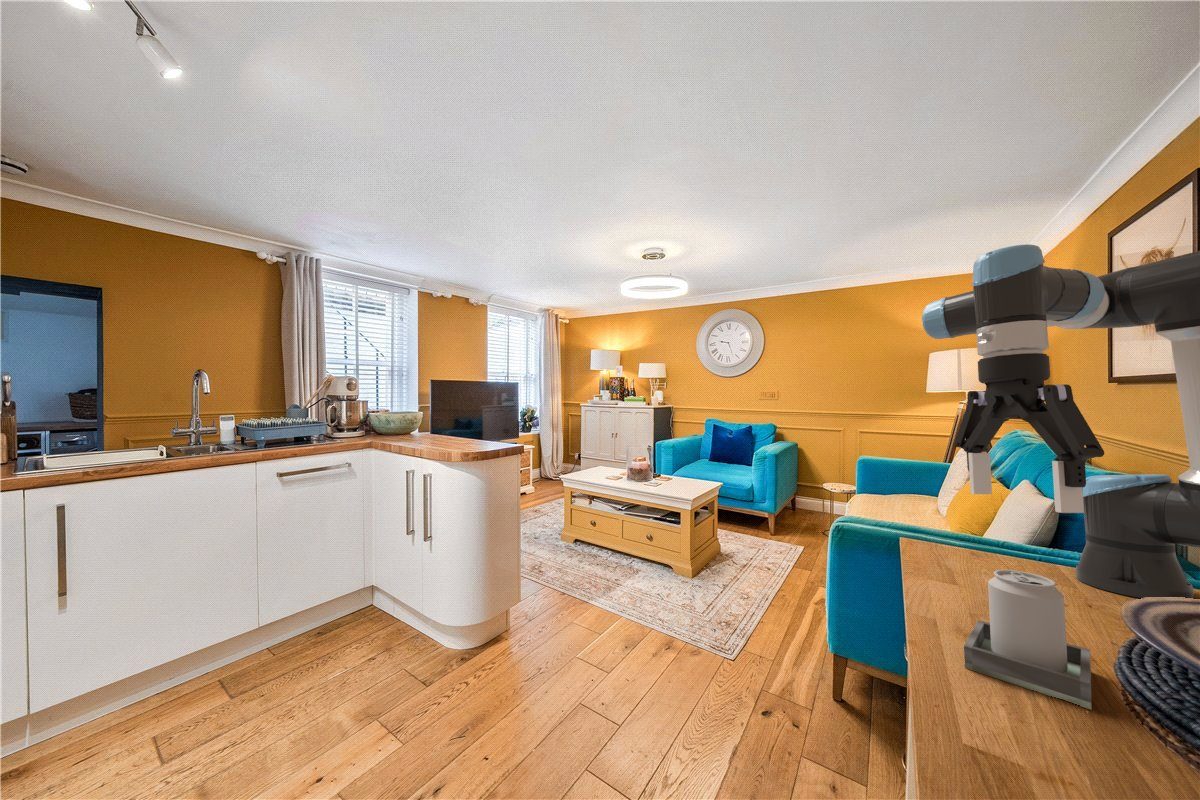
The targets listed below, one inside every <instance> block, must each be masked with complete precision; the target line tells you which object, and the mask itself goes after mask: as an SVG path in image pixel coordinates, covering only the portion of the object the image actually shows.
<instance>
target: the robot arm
mask: <svg viewBox="0 0 1200 800" xmlns="http://www.w3.org/2000/svg"><path fill="white" fill-rule="evenodd" d="M1044 263H1045V259H1044V255H1043V251H1042V249H1041V247H1040V246H1038V245H1035V244H1017V245H1012V246H1006V247H1001V248H997V249H994V250H991V251H989V252H986V253H984V254H982V255H980V256H979V257H977V258H976V260H975V261H974V262H973V265H972V268H973V269H972V282H971V286H972V289H973V290H971V291H967V292H963V293H959V294H955V295H952V296H945V297H943V298H941V299H937V300H935V301H931V302H930V303H929V304H927V305H926V306H925V307H924V309H923V311H922V314H921V321H922V327H923V330H924V332H925V334H926V335H928V336H930V338H933V339H935V340H936V339H937V340H942V339H943V340H944V339H953V338H954V339H955V338H957V337H962V336H967V335H968V336H969V335H976V348H977V349H976V352H977V355H978V356H979V357H982V358H980V359H979V360H978V361H977V372H978V373H977V374H978V377H977V378H978V382H979V383H981V384H984V385H985V390H970V391H968V393H967V400H966V401H967V403H966V408H965V411H964V414H963V417H962V420H961V423H960V426H959V429H958V431H957V434H956V437H955V441H954V446H955V447H956V448H961V449H962V450H963V452H965V453H966V461H967V465H966V467H967V471H968V473H969V489H970V491H969V492H970V494H971V495H993V486H992V485H993V483H992V470H991V468H992V467H991V452H989V451H990V450H989V449H988V447H989V444H990V443H991V442H992V440H993V439H994V437H995V436H996V435H997V433H998V432H999V430H1000V429H1001V427H1002V426H1003V424H1004V423H1005V422H1007V421H1009V420H1022V421H1024V422H1026V423H1028V424H1029V425H1030V426H1031V427H1032V428H1033V430H1034V431H1035V432H1036V433H1037V434H1038V435H1039V437H1040V438H1041V439H1042V441H1044V442H1045V444H1046V445H1047V446H1048V448H1049V449H1050V450H1051V451H1052V452H1053V453H1054V454H1055V456H1056V457H1055V458H1054V459H1053V460H1051V465H1052V479H1053V480H1052V481H1053V482H1052V483H1053V495H1054V496H1053V497H1054V510H1055V511H1054V512H1056V513H1059V514H1060V513H1061V514H1083V515H1084V529H1085V530H1084V531H1085V545H1084V548H1083V550H1082V553H1081V555H1080V559H1079V562H1078V563H1077V565H1076V566H1075V579H1077V580H1078V581H1080V582H1082V583H1083V584H1085V585H1089V586H1091V587H1093V588H1097V589H1100V590H1103V591H1108V592H1111V593H1116V594H1118V595H1123V596H1128V597H1133V598H1139V599H1144V598H1143V597H1185V598H1194V599H1195V593H1194V587H1193V585H1192V583H1190V582H1189V580H1188V577H1187V575H1186V573H1185V570H1184V569H1183V567H1182V565H1181V564H1180V563H1181V562H1179V559H1178V558H1177V555H1176V554H1177V553H1176V545H1179V546H1184V547H1190V548H1196V549H1200V250H1197V251H1194V252H1189V253H1185V254H1181V255H1177V256H1174V257H1170V258H1166V259H1164V258H1163V259H1160V260H1157V261H1154V262H1149V263H1145V264H1144V263H1143V264H1141V265H1136V266H1130V267H1127V268H1123V269H1120V270H1116V271H1112V272H1109V273H1106V274H1103V275H1099V276H1096V275H1094V274H1092V273H1089V272H1085V271H1084V272H1083V270H1079V269H1075V268H1073V269H1071V268H1060V267H1059V268H1058V267H1051V266H1050V267H1049V266H1046V265H1044ZM1149 325H1154V330H1155V334H1156V335H1158V336H1161V337H1162V338H1165V339H1166V340H1167V339H1168V340H1169V341H1170V344H1171V350H1172V351H1171V352H1172V357H1173V364H1174V370H1175V376H1176V377H1175V379H1176V384H1177V385H1176V386H1177V391H1178V397H1179V405H1180V409H1181V416H1182V422H1183V429H1184V436H1185V442H1186V448H1187V454H1188V455H1187V456H1188V462H1189V468H1188V469H1187V470H1186V471H1184V472H1183V473H1181V474H1180V475H1178V477H1177V479H1178V483H1177V482H1176V483H1175V482H1173V479H1172V478H1171V477H1170V476H1169V475H1168V474H1158V473H1156V474H1154V473H1151V474H1142V473H1139V474H1137V473H1136V474H1100V475H1091V476H1088V477H1087V473H1086V462H1087V461H1088V460H1090V459H1093V458H1103V457H1104V455H1105V451H1104V448H1103V447H1102V445H1101V443H1100V442H1099V440H1098V439H1097V436H1095V434H1094V432H1093V430H1092V429H1091V427H1090V425H1089V424H1088V421H1086V419H1085V417H1084V415H1083V414H1082V412H1081V410H1080V408H1079V407H1078V405H1077V404H1076V402H1075V400H1074V394H1073V390H1072V389H1073V388H1072V386H1071V385H1070V384H1045V381H1047V380H1049V379H1050V378H1051V367H1050V366H1051V365H1050V363H1051V362H1050V356H1049V355H1048V354H1046V353H1043V352H1044V351H1047V350H1048V349H1049V348H1050V343H1049V334H1048V327H1049V328H1050V327H1058V328H1061V329H1065V330H1078V329H1079V330H1081V329H1121V328H1133V327H1141V326H1142V327H1144V326H1149Z"/></svg>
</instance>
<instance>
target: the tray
mask: <svg viewBox="0 0 1200 800" xmlns="http://www.w3.org/2000/svg"><path fill="white" fill-rule="evenodd" d="M1066 645H1067V663H1068V669H1067V671H1066V672H1064V673H1061V672H1058V671H1054V670H1051V669H1047V668H1044V667H1041V666H1037V665H1034V664H1031V663H1027V662H1024V661H1021V660H1017V659H1014V658H1011V657H1007V656H1004V655H1001V654H997V653H994V652H993V651H992V649H991V635H990V622H986V621H982V620H979V619H978V620H977V621H976V624H975V626H974V627H973V628H972V631H971V633H970V634H969V636H968V638H967V640H966V641H965V644H964V645H963V652H964V653H963V654H964V655H963V656H964V668H965V669H967V670H971V671H974V672H976V673H979V674H983V675H985V676H987V677H991V678H994V679H997V680H1001V681H1004V682H1006V683H1009V684H1013V685H1015V686H1019V687H1022V688H1025V689H1028V690H1031V691H1033V690H1034V691H1033V692H1036V691H1037V693H1040V694H1041V695H1046V696H1049V697H1051V696H1052V698H1054V697H1056V698H1055V699H1057V698H1060V699H1065V700H1068V701H1070V702H1072V703H1074V704H1073V705H1075V704H1077V705H1076V706H1078V705H1080V706H1079V707H1081V708H1084V709H1088V710H1091V711H1092V664H1091V650H1090V648H1087V647H1086V648H1085V647H1082V646H1078V645H1075V644H1074V645H1073V644H1070V643H1067V642H1066ZM1060 699H1059V700H1060ZM1072 703H1071V704H1072Z"/></svg>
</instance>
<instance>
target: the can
mask: <svg viewBox="0 0 1200 800" xmlns="http://www.w3.org/2000/svg"><path fill="white" fill-rule="evenodd" d="M993 575H994V576H993V577H992V578H990V579H989V580H988V581H987V586H988V587H987V588H988V589H987V591H988V610H989V612H988V613H989V623H990V635H991V649H992V651H993V652H994V653H997V654H1001V655H1004V656H1007V657H1011V658H1014V659H1017V660H1021V661H1024V662H1027V663H1031V664H1034V665H1037V666H1041V667H1044V668H1047V669H1051V670H1054V671H1058V672H1061V673H1064V672H1066V671H1067V669H1068V663H1067V645H1066V643H1067V628H1066V626H1067V625H1066V612H1065V611H1066V609H1065V608H1066V607H1065V596H1064V594H1063V593H1062V592H1061V591H1059V589H1058V588H1057V587H1056V586H1057V583H1056V582H1055V580H1053V579H1051V578H1049V577H1046V576H1043V575H1040V574H1037V573H1036V574H1035V573H1031V572H1028V571H1023V570H1021V571H1020V570H1014V569H1013V570H1012V569H998V570H997V569H996V570H994V571H993Z"/></svg>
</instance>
